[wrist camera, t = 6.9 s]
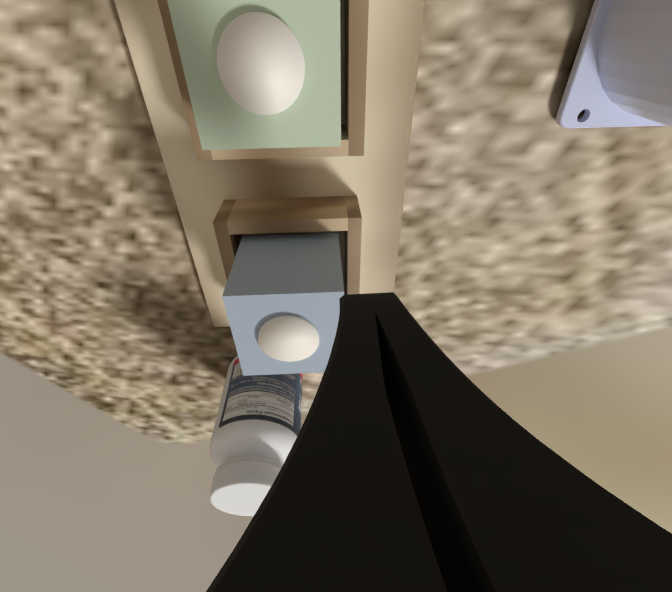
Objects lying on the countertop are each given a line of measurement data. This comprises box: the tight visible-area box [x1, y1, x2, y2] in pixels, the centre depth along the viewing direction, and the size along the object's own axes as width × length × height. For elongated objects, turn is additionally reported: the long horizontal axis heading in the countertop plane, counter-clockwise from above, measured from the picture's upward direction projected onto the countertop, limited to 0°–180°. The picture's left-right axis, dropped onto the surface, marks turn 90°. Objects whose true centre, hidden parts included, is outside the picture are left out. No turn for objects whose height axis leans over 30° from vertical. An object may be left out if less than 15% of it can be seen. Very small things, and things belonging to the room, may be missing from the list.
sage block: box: [167, 0, 341, 150], centre depth 12 cm, size 4×4×5 cm
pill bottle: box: [210, 355, 302, 516], centre depth 22 cm, size 5×5×9 cm
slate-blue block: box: [222, 233, 344, 376], centre depth 16 cm, size 4×4×5 cm
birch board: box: [114, 0, 425, 327], centre depth 13 cm, size 11×28×3 cm, turn 1°
